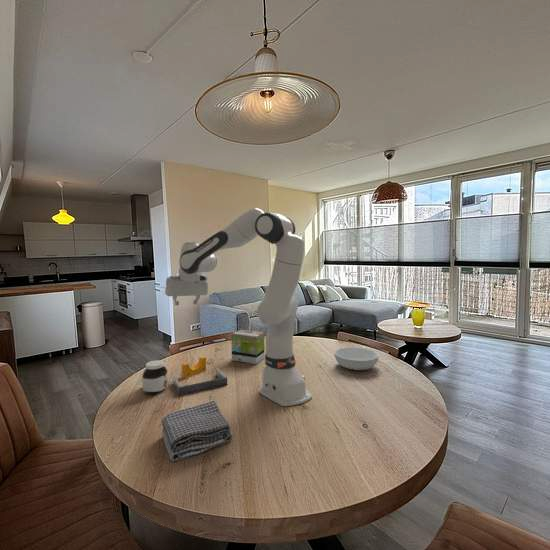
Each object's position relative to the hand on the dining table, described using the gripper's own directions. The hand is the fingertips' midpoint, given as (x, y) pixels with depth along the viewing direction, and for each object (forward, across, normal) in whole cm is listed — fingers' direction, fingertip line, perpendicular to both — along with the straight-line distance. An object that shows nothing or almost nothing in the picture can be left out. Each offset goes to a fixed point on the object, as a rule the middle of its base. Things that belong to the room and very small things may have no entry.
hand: (186, 304), depth 143 cm
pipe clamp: (+31, +2, -10) cm, 33 cm away
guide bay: (+30, -1, -22) cm, 37 cm away
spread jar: (+32, -18, -14) cm, 40 cm away
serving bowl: (+22, +65, -56) cm, 88 cm away
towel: (+27, -20, -58) cm, 67 cm away
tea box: (+29, +32, -12) cm, 45 cm away
